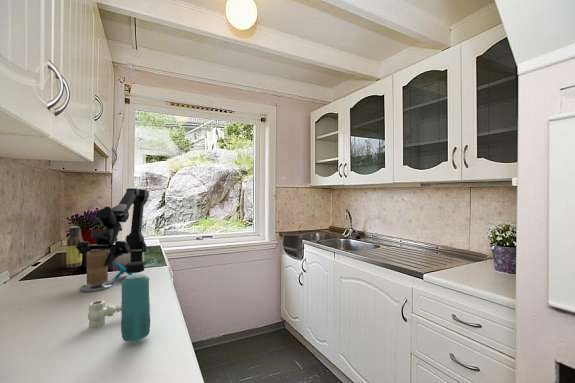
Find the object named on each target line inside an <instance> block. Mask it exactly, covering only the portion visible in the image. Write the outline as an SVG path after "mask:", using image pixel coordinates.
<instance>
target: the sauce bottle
mask: <svg viewBox="0 0 575 383" xmlns="http://www.w3.org/2000/svg"><path fill="white" fill-rule="evenodd" d="M68 230H69V237H68V238H67V239H66V248H65V249H66V250H65V252H66V256H65V258H66V260H65V261H66V263H65V264H66V268H68V269H70V268H77V267H78V268H79V267H80V266H82V265H83V264H82V262H83V254H81V253H80V252H79V251H78V249H77V248H76V245H77V243H78V242H83V240H82V238H81V237H80V226H70V227H69V228H68Z"/></svg>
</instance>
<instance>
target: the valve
mask: <svg viewBox="0 0 575 383" xmlns="http://www.w3.org/2000/svg"><path fill="white" fill-rule="evenodd" d="M121 308H122V304H119V305H116V306H113V305H112V304H111V305H107V306H106V301H105V300H101V299H100V300H95V301H92V302H90V303H89V305H88V311H89V312H88V314H87V319H88V321H89V322H88V328H89V329H94V330H96V329H98V328H99V329H100V328H102V327H104V325H105V323H106V317H112V316H113V315H114V314H115V313H116V312H117V313H119V312H122V309H121Z"/></svg>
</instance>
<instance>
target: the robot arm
mask: <svg viewBox="0 0 575 383" xmlns="http://www.w3.org/2000/svg"><path fill="white" fill-rule="evenodd" d="M149 197H150V192H149V191H148V190H147V188H138V187H128V188H126V190H125V193H124V195H123V196H122V198H121V199H120V201H119V203H118V204H117V205H115V206H114V207H112V208H111V206H104V207H103V208H100V209H99V210H98V211H96V212H95V217H96V219H97V220H98V221H99V223H100V225H101V226H102V227H104V228H103V229H92V230H91V236H90V239H93V240H94V241H93V242H94V243H95V244H91V242H90V241H82V242H78V243H77V245H76V248H77V249H78V251H79V252H80V253H81V254H82V255H84V261H83V262H84V263H83V266H84V267H85V268H87V252H89V251H93V250H108V251H109V254H108V258H107V260H106V262H105V266H108V267H109V265H111V263H112V262H113V261H114V260H116V259H117V258H119V257H120V256H123V254H129V255H130V257H129V262H127V264H128V263H131V262H143V263H144V264H146V261H144V260H143V259H144V258H143V255H144V254H143V253H144V252H145V253H146V252H147V250H148V246H147V244H146V242H145V237H144V235H143V233H142V228H143V227H142V226H143V217H144V216H143V215H144V206H145V204H147V203H148V200H149ZM132 205H133V208H132V215H131V217H132V218H131V227H130V232H129V234H127V235H126V236H125V240H118V239H119V238H118V236H119V233H120V232H122V231H123V227H122V225H121V223H126V222H127V221H128V219H129V217H130V214H129V210H130V209H131V206H132Z"/></svg>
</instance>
